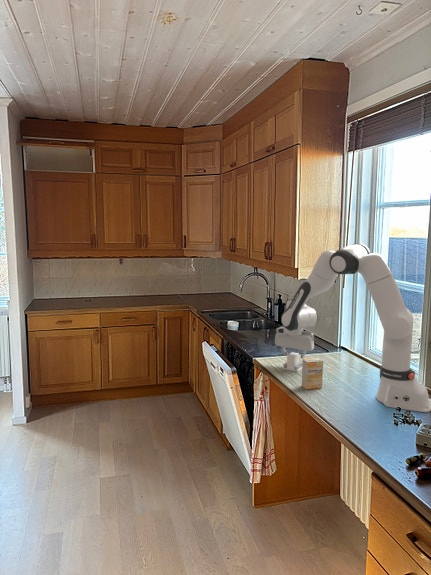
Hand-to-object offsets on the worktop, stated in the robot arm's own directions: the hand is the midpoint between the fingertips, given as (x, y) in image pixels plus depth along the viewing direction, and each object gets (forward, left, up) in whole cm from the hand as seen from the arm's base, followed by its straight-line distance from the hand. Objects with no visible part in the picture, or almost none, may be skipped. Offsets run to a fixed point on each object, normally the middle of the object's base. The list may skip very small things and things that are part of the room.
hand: (294, 356), depth 228 cm
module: (0, 0, -6) cm, 6 cm away
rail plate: (0, 0, -6) cm, 6 cm away
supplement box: (-18, +19, -7) cm, 27 cm away
